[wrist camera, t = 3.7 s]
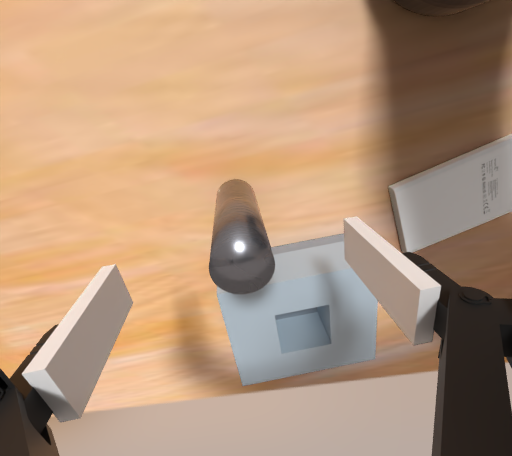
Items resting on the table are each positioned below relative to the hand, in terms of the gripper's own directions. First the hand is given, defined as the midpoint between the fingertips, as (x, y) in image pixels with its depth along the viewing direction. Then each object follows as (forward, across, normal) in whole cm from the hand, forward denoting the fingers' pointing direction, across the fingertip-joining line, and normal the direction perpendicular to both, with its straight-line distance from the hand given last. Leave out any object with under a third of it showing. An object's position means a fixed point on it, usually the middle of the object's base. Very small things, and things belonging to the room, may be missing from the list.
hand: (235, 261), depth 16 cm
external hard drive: (+11, +22, -4) cm, 26 cm away
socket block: (+11, +4, -12) cm, 17 cm away
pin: (+11, 0, 0) cm, 11 cm away
